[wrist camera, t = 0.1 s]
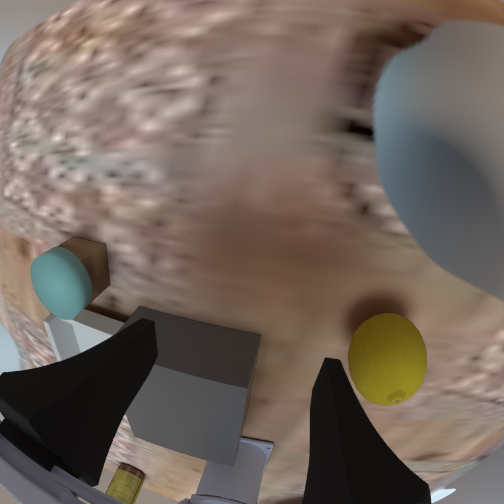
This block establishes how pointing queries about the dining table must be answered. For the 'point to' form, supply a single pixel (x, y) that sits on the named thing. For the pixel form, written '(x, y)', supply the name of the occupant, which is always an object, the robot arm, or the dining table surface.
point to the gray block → (195, 387)
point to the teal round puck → (61, 282)
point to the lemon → (387, 359)
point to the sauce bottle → (126, 484)
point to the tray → (79, 332)
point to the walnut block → (91, 262)
